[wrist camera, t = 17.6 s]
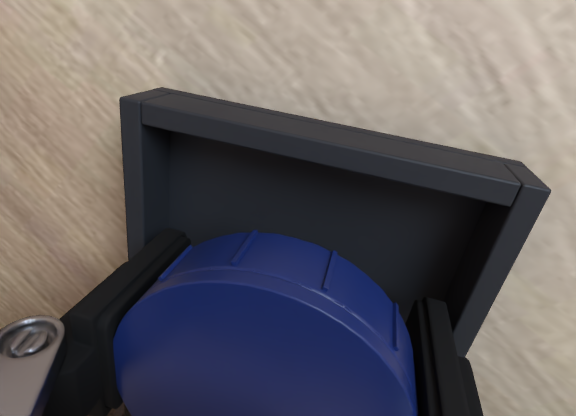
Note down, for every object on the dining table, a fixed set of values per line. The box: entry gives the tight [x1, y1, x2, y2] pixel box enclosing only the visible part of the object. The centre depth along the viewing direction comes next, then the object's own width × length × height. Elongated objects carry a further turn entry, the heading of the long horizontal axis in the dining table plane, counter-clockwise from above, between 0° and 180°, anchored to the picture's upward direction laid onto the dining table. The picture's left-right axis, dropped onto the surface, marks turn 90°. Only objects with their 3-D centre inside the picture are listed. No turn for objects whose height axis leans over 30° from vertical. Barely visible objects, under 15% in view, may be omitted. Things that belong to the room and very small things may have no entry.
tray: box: [119, 87, 551, 358], centre depth 12 cm, size 10×10×2 cm
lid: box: [113, 230, 419, 416], centre depth 9 cm, size 7×7×2 cm
